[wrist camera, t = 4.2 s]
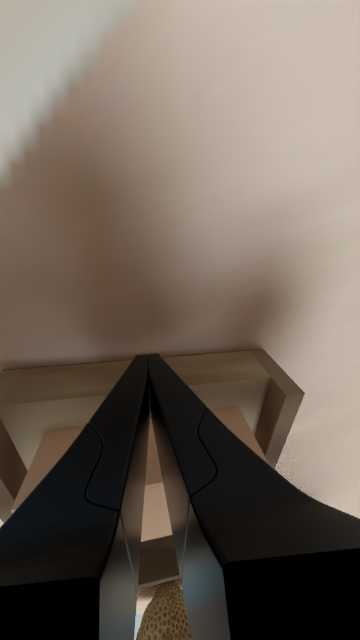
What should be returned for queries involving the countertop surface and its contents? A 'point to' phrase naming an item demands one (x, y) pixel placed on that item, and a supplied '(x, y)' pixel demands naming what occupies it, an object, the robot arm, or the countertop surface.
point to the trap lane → (97, 381)
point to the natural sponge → (165, 616)
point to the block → (154, 495)
